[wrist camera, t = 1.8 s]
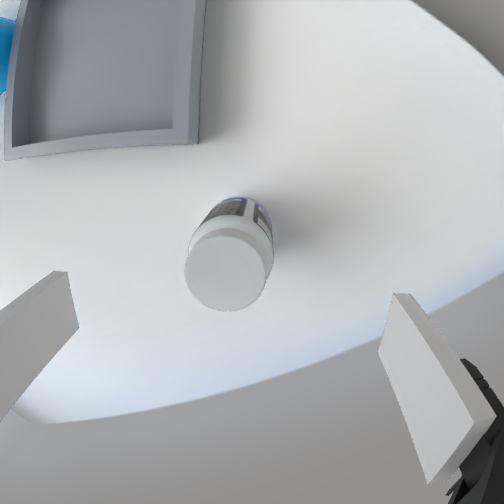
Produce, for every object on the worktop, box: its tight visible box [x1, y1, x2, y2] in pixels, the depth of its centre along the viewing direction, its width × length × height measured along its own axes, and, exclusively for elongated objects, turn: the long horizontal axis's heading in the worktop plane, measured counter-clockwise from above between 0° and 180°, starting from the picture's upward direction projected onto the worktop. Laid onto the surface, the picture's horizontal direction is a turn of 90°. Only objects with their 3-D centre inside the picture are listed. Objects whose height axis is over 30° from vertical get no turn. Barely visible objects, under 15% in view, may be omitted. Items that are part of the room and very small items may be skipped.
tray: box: [4, 0, 206, 161], centre depth 17 cm, size 16×16×3 cm
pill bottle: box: [185, 197, 274, 311], centre depth 19 cm, size 5×5×8 cm
